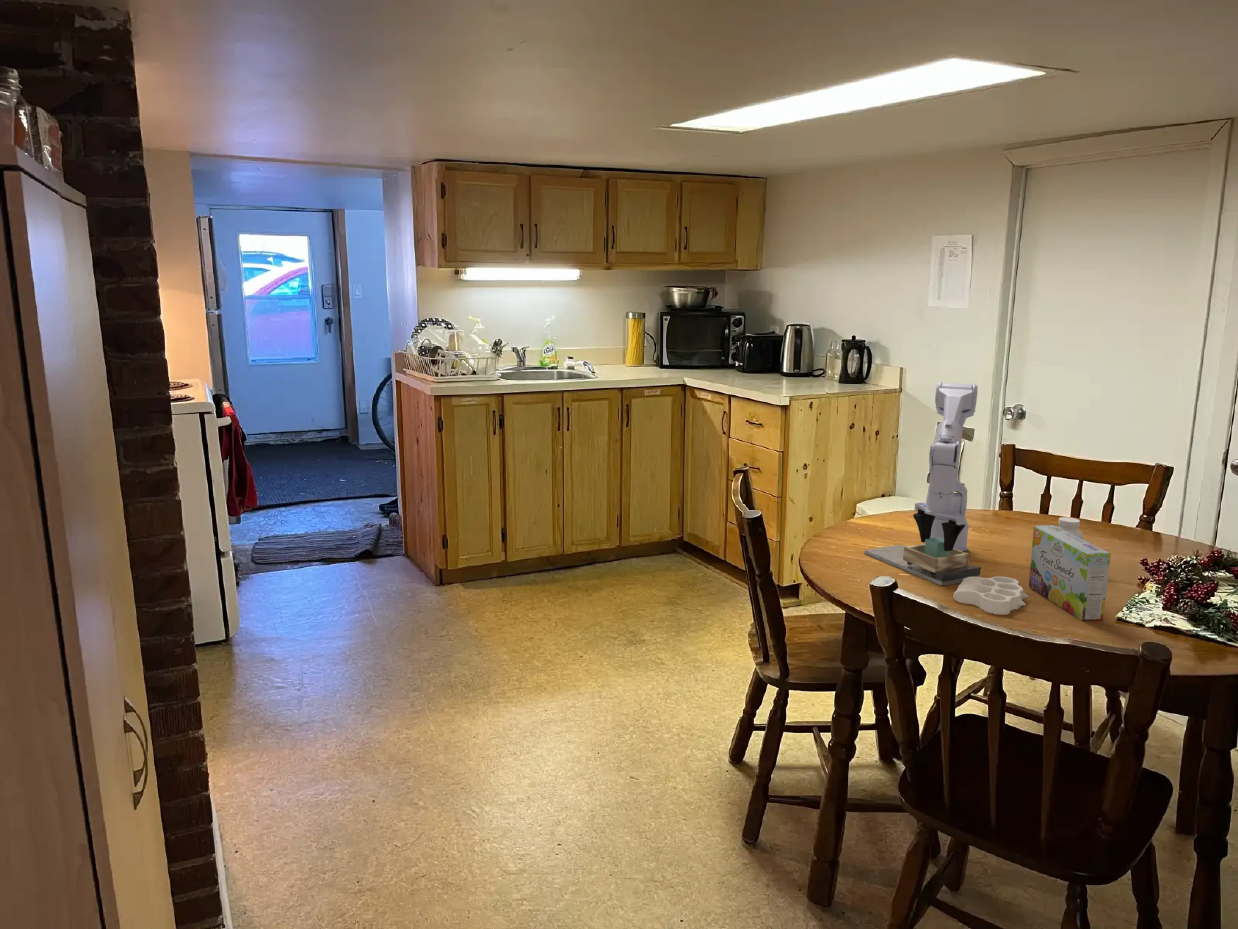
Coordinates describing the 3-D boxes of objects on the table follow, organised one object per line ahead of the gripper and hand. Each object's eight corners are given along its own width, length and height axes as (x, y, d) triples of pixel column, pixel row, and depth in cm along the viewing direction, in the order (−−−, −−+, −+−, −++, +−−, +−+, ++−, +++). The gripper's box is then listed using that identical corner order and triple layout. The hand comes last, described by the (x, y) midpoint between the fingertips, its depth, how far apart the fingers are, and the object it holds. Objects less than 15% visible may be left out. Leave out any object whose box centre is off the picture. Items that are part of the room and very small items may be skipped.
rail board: (900, 548, 233) (900, 537, 232) (979, 579, 209) (980, 567, 208) (864, 553, 228) (865, 542, 227) (941, 586, 204) (942, 574, 203)
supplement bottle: (1082, 575, 213) (1088, 524, 210) (1052, 573, 214) (1058, 522, 211) (1074, 566, 219) (1079, 516, 217) (1045, 564, 221) (1051, 515, 218)
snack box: (1025, 587, 204) (1032, 524, 201) (1048, 586, 205) (1055, 524, 202) (1079, 621, 184) (1088, 553, 181) (1105, 621, 184) (1114, 552, 181)
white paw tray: (965, 583, 207) (1032, 595, 200) (949, 607, 192) (1022, 621, 185) (966, 570, 206) (1034, 581, 199) (951, 592, 191) (1023, 606, 184)
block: (936, 556, 216) (937, 537, 215) (948, 561, 213) (950, 541, 212) (923, 558, 215) (925, 539, 214) (935, 563, 211) (937, 543, 210)
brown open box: (935, 558, 221) (936, 542, 220) (967, 570, 211) (969, 553, 210) (902, 563, 216) (903, 547, 216) (934, 576, 207) (935, 559, 206)
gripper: (906, 486, 215) (902, 540, 218) (951, 500, 202) (946, 556, 205) (928, 484, 218) (924, 536, 220) (974, 497, 205) (968, 552, 208)
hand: (936, 546), depth 213 cm, fingers open, 7 cm apart
